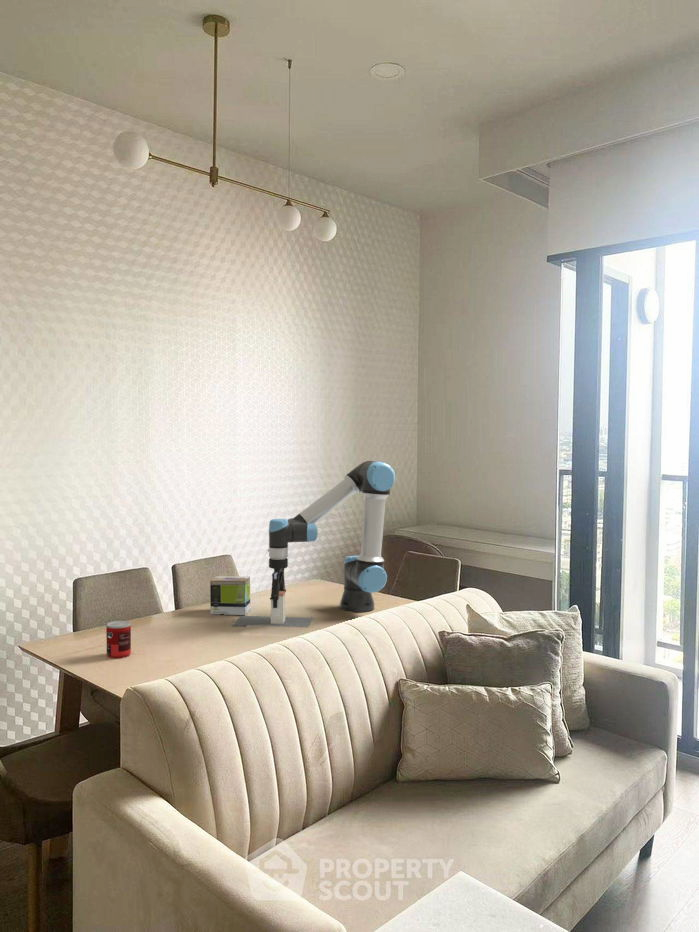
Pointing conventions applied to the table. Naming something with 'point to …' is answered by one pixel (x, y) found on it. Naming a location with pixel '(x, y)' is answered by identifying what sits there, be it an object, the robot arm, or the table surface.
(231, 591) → the tea box
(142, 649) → the table surface
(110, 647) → the canned food
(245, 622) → the rubber mat
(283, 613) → the cream block
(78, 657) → the table surface
